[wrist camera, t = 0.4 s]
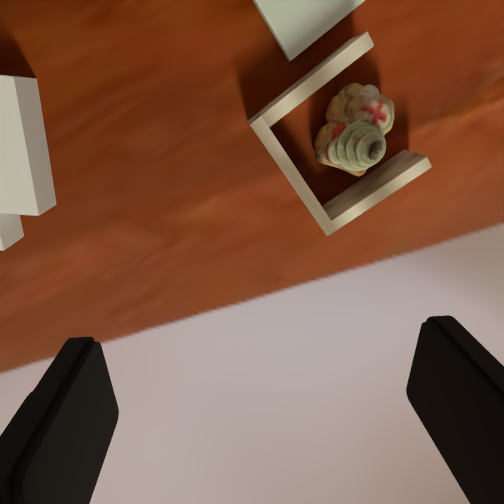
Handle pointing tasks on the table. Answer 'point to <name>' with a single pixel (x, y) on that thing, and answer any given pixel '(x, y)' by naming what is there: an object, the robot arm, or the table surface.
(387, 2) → the table surface
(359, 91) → the ornament
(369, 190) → the shelf bay
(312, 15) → the tile mat
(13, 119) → the pixel art tile
